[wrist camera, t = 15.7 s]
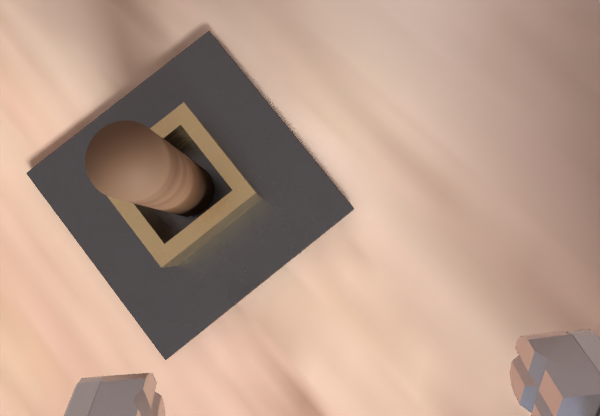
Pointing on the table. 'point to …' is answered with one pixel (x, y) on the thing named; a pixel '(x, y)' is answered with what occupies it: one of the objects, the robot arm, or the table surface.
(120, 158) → the rail post
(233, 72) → the peg socket base
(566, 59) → the table surface
